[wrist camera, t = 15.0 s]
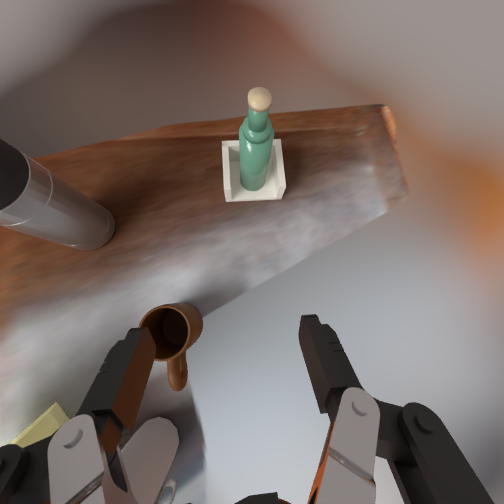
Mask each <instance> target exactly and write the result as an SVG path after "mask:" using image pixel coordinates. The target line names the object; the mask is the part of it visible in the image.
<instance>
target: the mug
mask: <svg viewBox="0 0 504 504" xmlns="http://www.w3.org/2000/svg"><path fill="white" fill-rule="evenodd" d="M141 327H148V329H149V331H150V333H151V336H152V338H153V340H154V342H155V345H156V355H155V359H154V360H155V361H167V371H168V380H169V384H170V387H171V388H172V389H173V390H174V391H180V390H182V389H183V388H184V387H185V385H186V382H187V376H188V370H187V363H186V350H187V349H188V348H189V347H190V346H192V345H193V343H195V342H196V340H197V339H198V338H199V336H200V334H201V332H202V328H203V320H202V316H201V314H200V312H199V311H198V310H197V309H196V308H195V307H194V306H192V305H189V304H185V303H175V304H165V305H162V306H158V307H156V308H153V309H152V310H150V311H149V312H148V313H147V314H146V315H145V316H144V317H143V318H142V320H141V322H140V324H139V327H138V328H141Z"/></svg>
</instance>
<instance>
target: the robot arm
mask: <svg viewBox="0 0 504 504" xmlns="http://www.w3.org/2000/svg"><path fill="white" fill-rule="evenodd" d="M0 226H3V227H6V228H9V229H13V230H16V231H19V232H23V233H26V234H29V235H32V236H36V237H39V238H42V239H46V240H49V241H52V242H55V243H59V244H62V245H65V246H68V247H72V248H75V249H79V250H82V251H91V250H95V249H98V248H100V247H102V246H103V245H105V244H106V243H107V242H108V241H109V240H110V239H111V237H112V235H113V233H114V230H115V220H114V217H113V215H112V214H111V212H110V211H108V210H107V209H106V208H104V207H103V206H101V205H100V204H98V203H97V202H95V201H94V200H92V199H91V198H89V197H88V196H86V195H85V194H83V193H82V192H80V191H79V190H77V189H76V188H74V187H73V186H71V185H70V184H68V183H67V182H65V181H64V180H62V179H61V178H59V177H58V176H56V175H55V174H53V173H52V172H50V171H49V170H47V169H46V168H44V167H43V166H41V165H40V164H38V163H37V162H35V161H34V160H32V159H31V158H29V157H28V156H26V155H24V154H23V153H21V152H20V151H18V150H17V149H16V148H14V147H13V146H11V145H9V144H8V143H6V142H5V141H3V140H2V139H0ZM299 342H300V346H301V350H302V353H303V357H304V360H305V363H306V367H307V370H308V373H309V376H310V379H311V383H312V386H313V390H314V393H315V396H316V400H317V403H318V407H319V410H320V413H321V414H323V413H328V416H329V419H330V422H331V423H330V426H329V430H328V433H327V437H326V441H325V445H324V448H323V452H322V456H321V459H320V463H319V466H318V470H317V473H316V476H315V479H314V482H313V486H312V489H311V492H310V496H309V500H308V503H307V504H375V499H376V485H375V481H374V479H373V472H374V463H375V456H378V457H381V458H384V459H387V461H388V464H389V466H390V469H391V471H392V474H393V476H394V479H395V481H396V484H397V486H398V488H399V491H400V493H401V496H402V498H403V501H404V503H405V504H494V502H493V501H492V499H491V498H490V496H489V495H488V493H487V491H486V490H485V488H484V487H483V485H482V483H481V482H480V480H479V479H478V477H477V476H476V474H475V472H474V471H473V469H472V468H471V467H470V465H469V463H468V462H467V460H466V458H465V457H464V455H463V454H462V452H461V450H460V449H459V447H458V446H457V444H456V443H455V441H454V439H453V438H452V436H451V435H450V433H449V432H448V430H447V429H446V427H445V425H444V424H443V422H442V421H441V419H440V418H439V417H438V416H437V415H436V414H435V413H434V412H433V411H432V410H430V409H429V408H428V407H426V406H424V405H422V404H419V403H408V404H406V405H405V406H404V407H401V406H397V405H393V404H389V403H385V402H382V401H379V400H377V399H375V398H373V397H372V396H371V395H370V394H368V393H367V392H366V391H365V390H364V389H363V387H362V386H361V384H360V383H359V380H358V378H357V376H356V374H355V372H354V370H353V368H352V366H351V364H350V362H349V360H348V357H347V356H346V353H345V352H344V349H343V347H342V345H341V344H340V341H339V339H338V337H337V334H336V332H335V331H334V330H333V329H332V328H331V327H330V326H329V325H328V324H321V323H320V321H319V318H318V316H317V315H316V314H313V315H302V316H301V321H300V327H299ZM155 355H156V345H155V342H154V340H153V338H152V336H151V333H150V331H149V329H148V327H141V328H131V329H130V330H129V331H128V333H127V335H126V337H125V339H124V340H119V341H118V342H117V343H116V344H115V345H114V346H113V347H112V348H111V350H110V351H109V353H108V355H107V357H106V358H105V360H104V364H102V366H101V368H100V370H99V373H98V374H97V376H96V378H95V380H94V382H93V384H92V386H91V388H90V390H89V391H88V393H87V395H86V397H85V399H84V401H83V403H82V405H81V407H80V409H79V411H78V412H77V414H76V415H75V417H73V418H72V419H70V420H68V421H67V422H66V423H65V424H63V425H62V426H61V427H60V428H59V429H58V431H57V432H56V433H55V434H53V435H51V436H49V437H47V438H44V439H42V440H40V441H37V442H35V443H33V444H31V445H28V446H26V447H24V448H22V447H20V446H18V445H17V444H8V445H5V446H2V447H0V504H138V502H137V500H136V499H135V497H134V495H133V493H132V490H131V487H130V483H129V480H128V476H127V473H126V469H125V466H124V462H123V459H122V455H121V452H120V448H119V445H118V443H119V440H120V437H121V434H126V433H131V432H132V429H133V426H134V422H135V419H136V416H137V413H138V410H139V406H140V403H141V400H142V397H143V394H144V390H145V387H146V384H147V381H148V378H149V375H150V371H151V368H152V365H153V362H154V359H155ZM188 504H191V503H188ZM235 504H291V503H289V502H287V501H284V500H282V499H279V498H278V495H277V492H274V493H267V494H258V495H251V496H248V497H246V498H244V499H242V500H241V501H239V502H237V503H235Z"/></svg>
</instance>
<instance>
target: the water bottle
mask: <svg viewBox="0 0 504 504" xmlns="http://www.w3.org/2000/svg"><path fill="white" fill-rule="evenodd" d="M178 445H179V438H178V431H177V429H176V427H175V426H174V425H173V424H172V422H171V421H170V420H168V419H165V418H161V417H156V418H153V419H150V420H147V421H146V422H145V423H144V424H143V425H142V426H141V427H140V428H139V429H138V430H137V431H136V432H135V434H134V435H133V436H132V437H131V439H130V440H129V441H128V442H127V444H126V445H125V446H124V447H123V449H122V450H121V451H120V452H121V455H122V459H123V462H124V466H125V469H126V473H127V476H128V480H129V483H130V487H131V490H132V493H133V495H134V497H135V499H136V500H137V502H138V504H155V502H156V499H157V497H158V495H159V497H158V500H157V502H156V504H159V501H160V499H161V496H162V494H163V491H164V488H166V487H167V486H170V487H173V490H172V497H171V500H170V504H172V502H173V500H174V496H175V492H176V487H177V481H175V480H174V479H173V478H171V479H170V480H168V481H167V482H166V483H165V485H164V486H163V488H162V485H163V483H164V481H165V478H166V476H167V474H168V471H169V469H170V467H171V464H172V462H173V460H174V457H175V455H176V451H177V448H178ZM161 488H162V490H161ZM160 490H161V492H160ZM159 492H160V494H159Z"/></svg>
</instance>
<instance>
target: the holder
mask: <svg viewBox="0 0 504 504" xmlns="http://www.w3.org/2000/svg"><path fill="white" fill-rule="evenodd" d="M222 157H223V178H224V192H225V198H226V202H232V201H253V200H275V199H282V196H283V193H284V191H285V188H286V182H285V173H284V165H283V156H282V148H281V139H273V144H272V149H271V154H270V159H269V164H268V169H267V174H266V179H265V184H264V186H263V187H262V188H261V189H260V190H258V191H248V190H246V189H245V188H243V186H242V185H241V182H240V149H239V140H237V141H222Z"/></svg>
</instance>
